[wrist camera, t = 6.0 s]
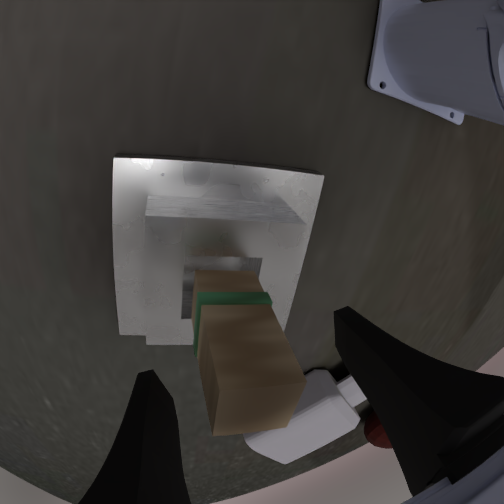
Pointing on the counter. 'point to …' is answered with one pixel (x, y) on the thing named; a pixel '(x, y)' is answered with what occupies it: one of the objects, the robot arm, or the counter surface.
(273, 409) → the post
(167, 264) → the stand
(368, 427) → the potato
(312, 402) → the charger
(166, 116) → the counter surface
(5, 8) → the counter surface
